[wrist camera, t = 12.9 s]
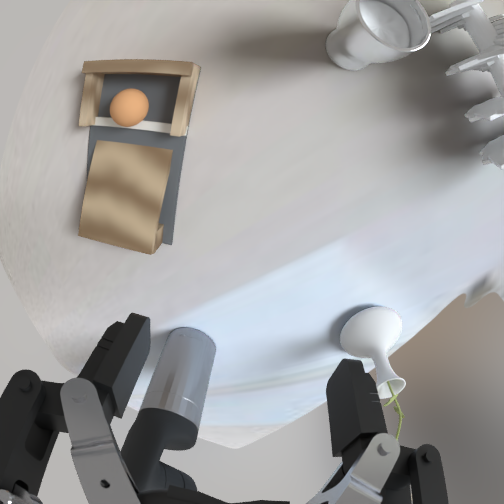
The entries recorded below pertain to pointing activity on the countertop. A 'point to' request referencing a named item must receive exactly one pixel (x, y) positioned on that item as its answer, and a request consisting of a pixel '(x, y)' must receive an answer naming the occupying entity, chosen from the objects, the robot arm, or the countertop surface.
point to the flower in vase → (376, 347)
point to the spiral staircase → (479, 61)
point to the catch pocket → (145, 67)
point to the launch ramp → (125, 195)
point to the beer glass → (377, 32)
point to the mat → (145, 130)
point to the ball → (129, 107)
